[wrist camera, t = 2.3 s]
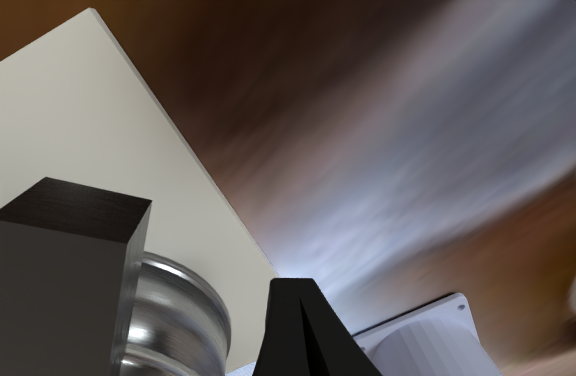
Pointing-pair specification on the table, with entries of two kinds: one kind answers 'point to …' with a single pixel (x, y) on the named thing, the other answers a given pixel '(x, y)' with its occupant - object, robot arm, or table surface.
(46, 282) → the lid
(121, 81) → the plate
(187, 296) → the pot
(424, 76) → the table surface
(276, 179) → the table surface
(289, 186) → the table surface
